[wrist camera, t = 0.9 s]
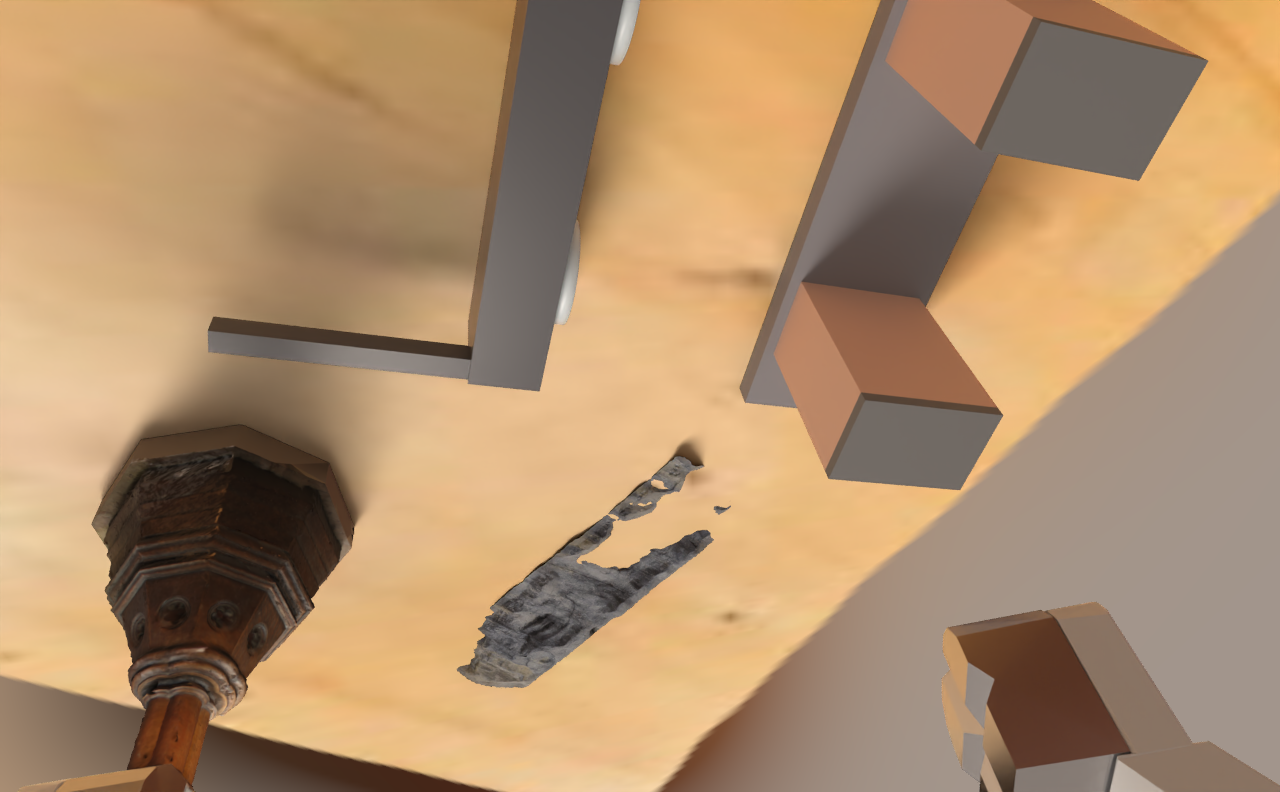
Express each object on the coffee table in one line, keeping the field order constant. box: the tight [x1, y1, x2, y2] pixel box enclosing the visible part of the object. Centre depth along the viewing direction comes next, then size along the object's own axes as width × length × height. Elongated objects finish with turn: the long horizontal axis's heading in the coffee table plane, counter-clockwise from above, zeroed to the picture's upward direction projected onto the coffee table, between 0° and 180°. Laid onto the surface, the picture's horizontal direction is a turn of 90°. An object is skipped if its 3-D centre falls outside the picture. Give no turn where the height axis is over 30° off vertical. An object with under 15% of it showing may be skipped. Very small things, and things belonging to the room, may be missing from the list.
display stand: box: [740, 0, 1208, 490], centre depth 37 cm, size 7×24×10 cm, turn 167°
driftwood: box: [457, 456, 731, 688], centre depth 54 cm, size 21×7×2 cm, turn 133°
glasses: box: [208, 0, 640, 391], centre depth 34 cm, size 14×20×5 cm
